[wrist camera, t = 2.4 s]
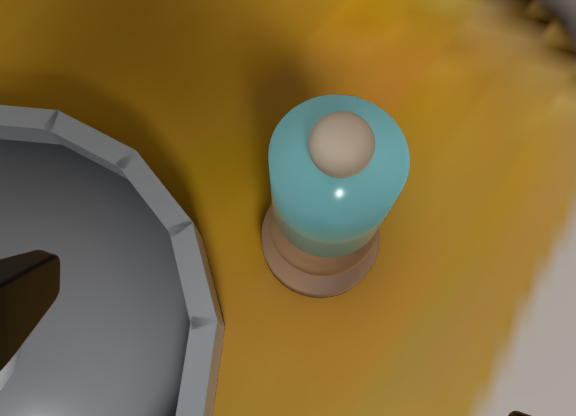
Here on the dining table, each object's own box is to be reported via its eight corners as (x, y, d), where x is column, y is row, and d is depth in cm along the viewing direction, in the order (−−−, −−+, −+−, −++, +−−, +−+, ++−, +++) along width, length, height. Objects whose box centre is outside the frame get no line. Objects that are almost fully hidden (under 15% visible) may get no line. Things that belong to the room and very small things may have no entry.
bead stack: (280, 312, 22) (275, 254, 11) (249, 205, 23) (219, 69, 13) (392, 278, 22) (482, 193, 12) (353, 175, 24) (404, 22, 13)
